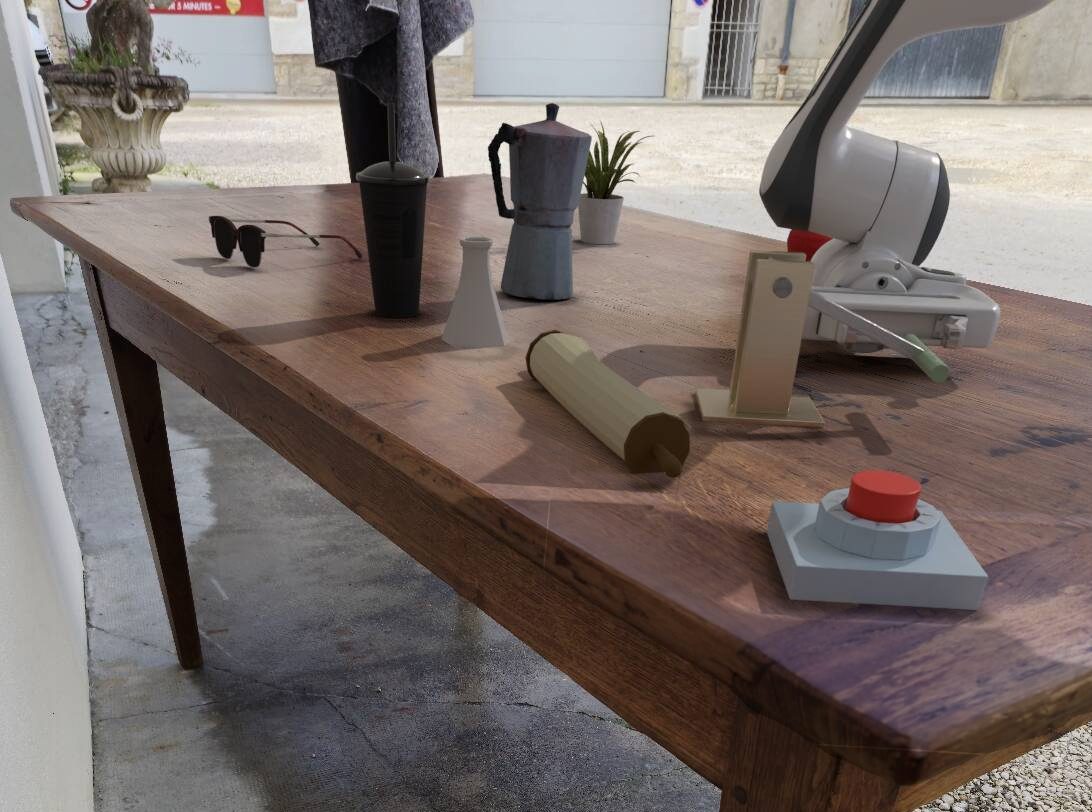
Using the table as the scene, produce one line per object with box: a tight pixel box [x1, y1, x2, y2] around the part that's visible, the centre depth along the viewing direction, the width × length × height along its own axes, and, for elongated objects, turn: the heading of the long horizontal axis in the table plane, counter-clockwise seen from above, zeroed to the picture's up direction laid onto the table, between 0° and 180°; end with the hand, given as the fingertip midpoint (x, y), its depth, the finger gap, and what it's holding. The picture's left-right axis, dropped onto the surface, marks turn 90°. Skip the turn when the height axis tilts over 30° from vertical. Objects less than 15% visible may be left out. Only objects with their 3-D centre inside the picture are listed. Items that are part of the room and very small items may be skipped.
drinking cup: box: [355, 102, 431, 319], centre depth 111 cm, size 8×8×20 cm
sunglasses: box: [207, 215, 363, 269], centre depth 140 cm, size 14×16×5 cm
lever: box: [767, 256, 951, 384], centre depth 85 cm, size 16×10×2 cm, turn 87°
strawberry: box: [786, 229, 833, 262], centre depth 135 cm, size 6×8×10 cm
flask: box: [441, 235, 510, 349], centre depth 103 cm, size 7×7×10 cm
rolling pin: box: [524, 329, 693, 479], centre depth 84 cm, size 32×6×5 cm, turn 16°
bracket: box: [694, 249, 826, 429], centre depth 86 cm, size 10×8×13 cm
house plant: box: [577, 120, 654, 245], centre depth 157 cm, size 14×14×16 cm
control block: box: [766, 487, 989, 611], centre depth 64 cm, size 11×10×4 cm
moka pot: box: [487, 102, 593, 301], centre depth 121 cm, size 10×15×20 cm, turn 136°
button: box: [845, 470, 922, 524], centre depth 62 cm, size 4×4×2 cm
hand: (902, 336), depth 92 cm, fingers open, 8 cm apart
